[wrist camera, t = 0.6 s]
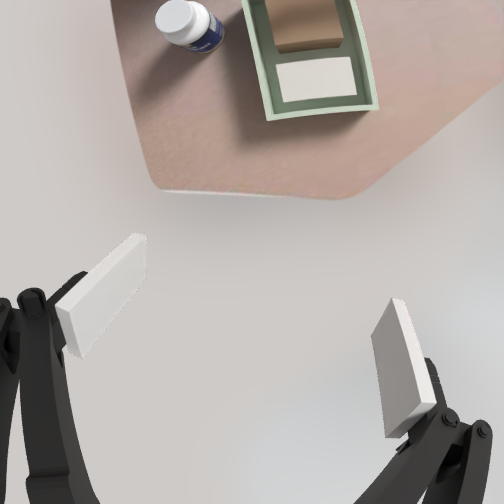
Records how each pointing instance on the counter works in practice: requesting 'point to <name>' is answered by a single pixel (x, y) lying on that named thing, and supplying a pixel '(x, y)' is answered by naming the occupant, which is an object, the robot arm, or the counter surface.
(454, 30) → the counter surface
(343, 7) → the box
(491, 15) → the counter surface
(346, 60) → the white box
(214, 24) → the pill bottle
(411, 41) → the counter surface
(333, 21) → the walnut block
